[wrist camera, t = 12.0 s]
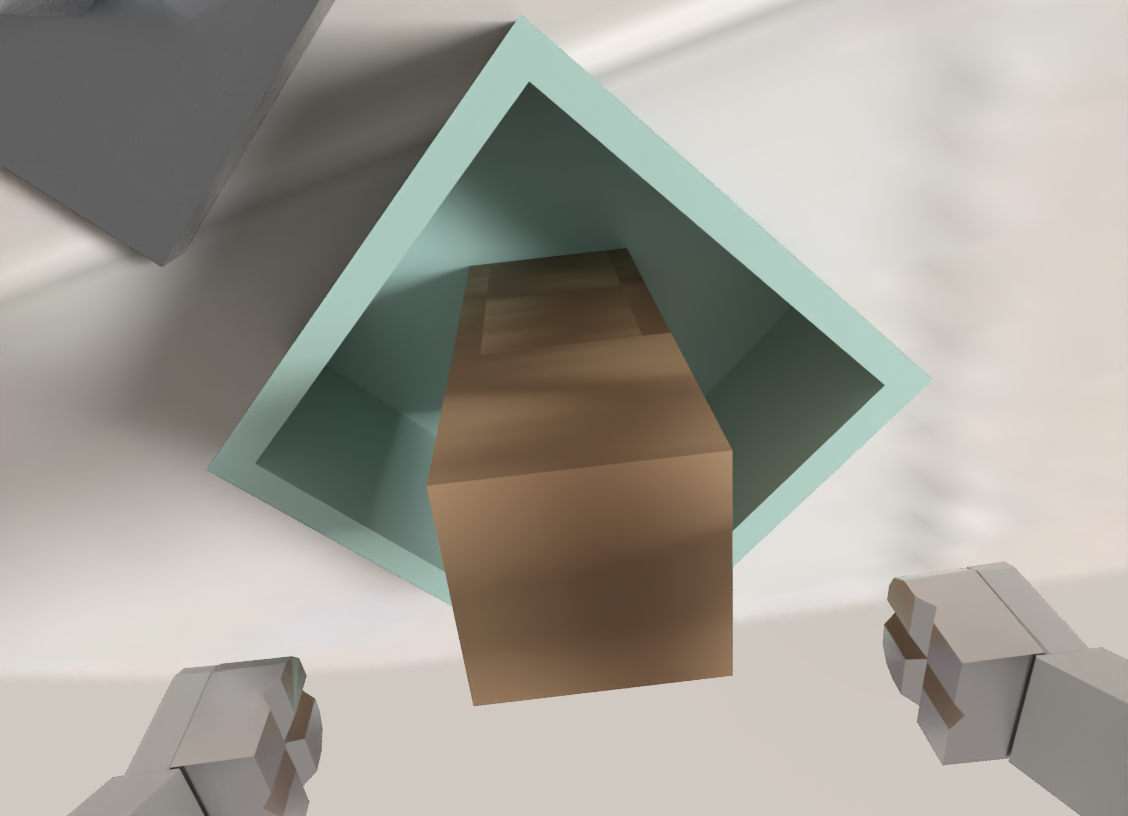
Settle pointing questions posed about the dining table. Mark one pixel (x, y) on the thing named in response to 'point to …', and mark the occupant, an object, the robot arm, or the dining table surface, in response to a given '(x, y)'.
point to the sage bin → (544, 229)
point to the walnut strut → (579, 487)
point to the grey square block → (142, 103)
